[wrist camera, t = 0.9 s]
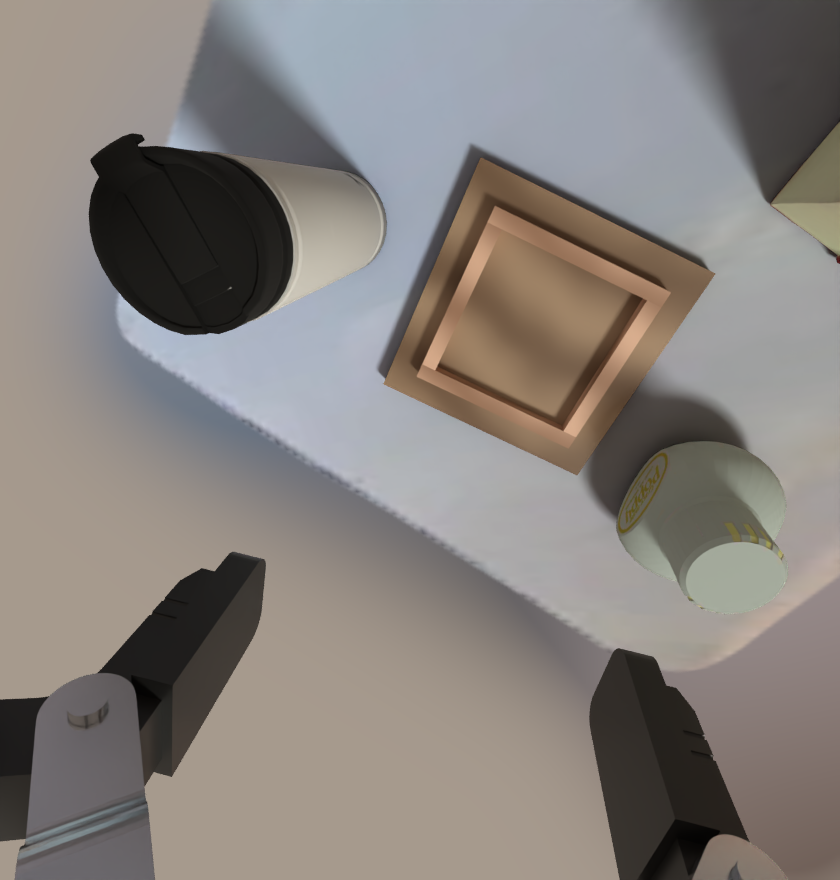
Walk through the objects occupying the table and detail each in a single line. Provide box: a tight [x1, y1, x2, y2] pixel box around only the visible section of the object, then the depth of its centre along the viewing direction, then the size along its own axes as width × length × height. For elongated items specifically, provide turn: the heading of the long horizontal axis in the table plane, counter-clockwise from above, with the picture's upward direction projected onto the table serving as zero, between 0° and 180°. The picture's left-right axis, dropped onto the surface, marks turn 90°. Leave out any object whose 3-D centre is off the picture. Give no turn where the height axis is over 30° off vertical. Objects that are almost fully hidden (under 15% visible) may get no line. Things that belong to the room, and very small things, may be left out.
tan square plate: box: [384, 158, 715, 475], centre depth 35 cm, size 16×16×2 cm
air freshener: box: [616, 441, 788, 614], centre depth 35 cm, size 11×8×10 cm
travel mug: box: [89, 134, 387, 335], centre depth 26 cm, size 6×7×20 cm
